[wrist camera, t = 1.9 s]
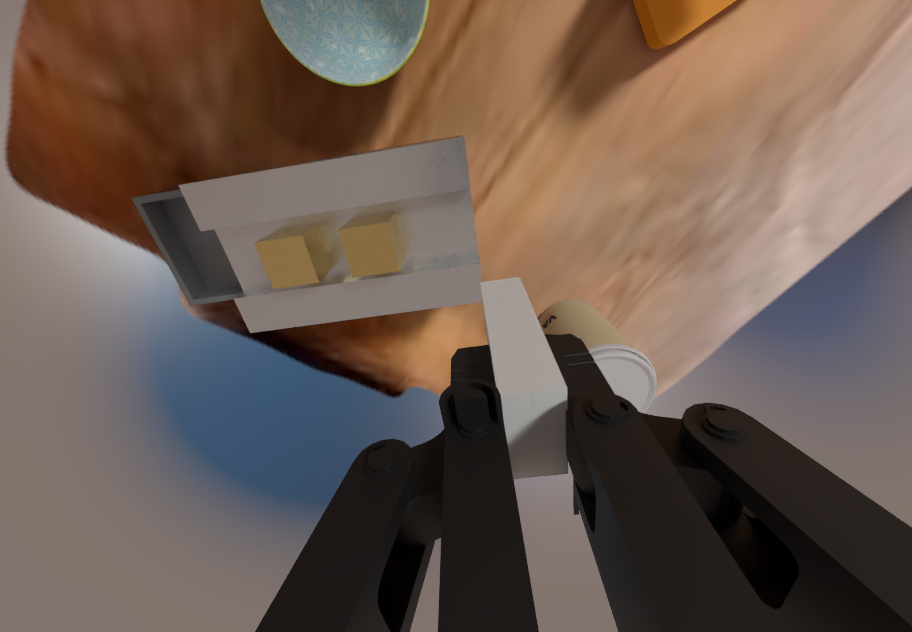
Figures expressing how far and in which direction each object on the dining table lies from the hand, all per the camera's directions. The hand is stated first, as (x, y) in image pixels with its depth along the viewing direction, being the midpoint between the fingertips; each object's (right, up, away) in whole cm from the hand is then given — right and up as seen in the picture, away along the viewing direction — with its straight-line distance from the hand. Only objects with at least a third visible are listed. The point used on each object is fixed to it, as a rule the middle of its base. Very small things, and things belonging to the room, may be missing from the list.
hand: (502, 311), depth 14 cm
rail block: (-10, +10, +22) cm, 26 cm away
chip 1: (-14, +5, +14) cm, 20 cm away
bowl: (-9, +24, +15) cm, 30 cm away
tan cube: (-8, +6, +14) cm, 17 cm away
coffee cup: (+11, -2, +28) cm, 30 cm away
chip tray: (-25, +8, +23) cm, 35 cm away
